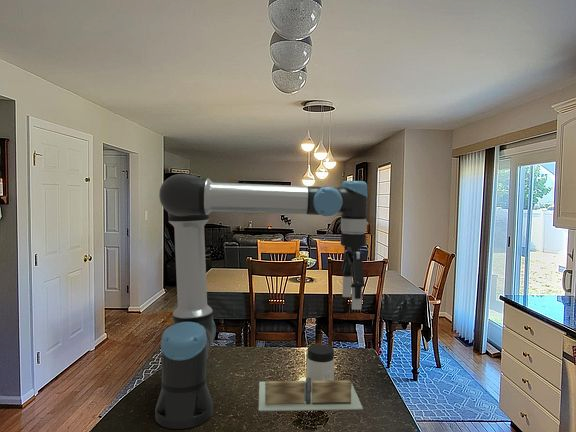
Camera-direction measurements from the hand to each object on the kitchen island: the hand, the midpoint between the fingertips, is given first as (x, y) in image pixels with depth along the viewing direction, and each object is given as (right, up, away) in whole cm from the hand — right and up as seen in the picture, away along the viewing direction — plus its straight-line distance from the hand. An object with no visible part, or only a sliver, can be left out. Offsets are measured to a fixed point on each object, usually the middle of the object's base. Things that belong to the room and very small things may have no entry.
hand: (351, 302), depth 126 cm
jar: (-9, -27, +2) cm, 28 cm away
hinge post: (-13, -27, -7) cm, 31 cm away
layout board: (-13, -27, -2) cm, 30 cm away
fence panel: (-20, -27, -8) cm, 34 cm away
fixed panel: (-7, -27, -7) cm, 29 cm away
